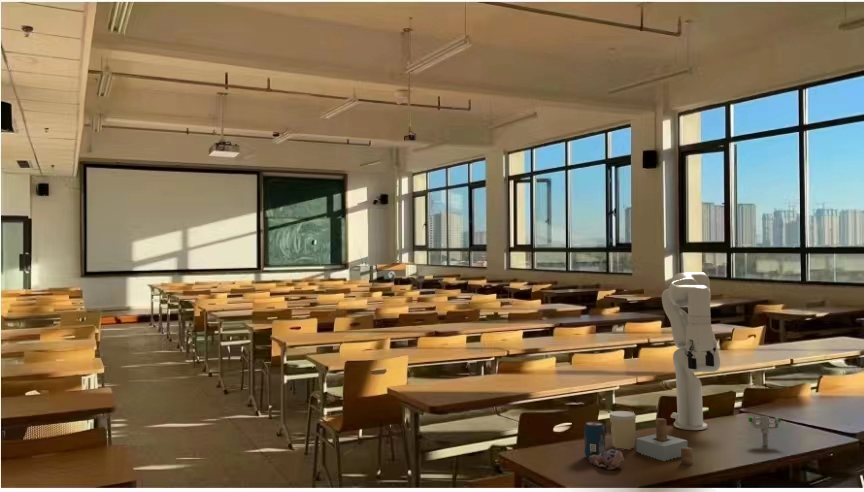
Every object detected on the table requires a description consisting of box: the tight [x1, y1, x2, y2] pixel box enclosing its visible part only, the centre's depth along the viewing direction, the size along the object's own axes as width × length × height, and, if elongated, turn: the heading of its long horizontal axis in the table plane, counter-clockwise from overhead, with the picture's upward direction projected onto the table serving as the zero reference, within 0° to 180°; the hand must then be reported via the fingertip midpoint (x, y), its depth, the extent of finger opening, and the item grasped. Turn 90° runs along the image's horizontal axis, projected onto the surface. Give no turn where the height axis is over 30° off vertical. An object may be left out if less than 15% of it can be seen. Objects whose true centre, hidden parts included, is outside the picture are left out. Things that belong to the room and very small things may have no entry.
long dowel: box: [655, 417, 668, 442], centre depth 229 cm, size 4×4×12 cm
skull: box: [588, 448, 625, 470], centre depth 217 cm, size 12×8×6 cm, turn 40°
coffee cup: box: [609, 410, 637, 450], centre depth 239 cm, size 9×9×12 cm
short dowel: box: [680, 446, 694, 466], centre depth 218 cm, size 4×4×5 cm
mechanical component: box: [748, 415, 781, 447], centre depth 236 cm, size 3×10×10 cm, turn 78°
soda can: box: [583, 420, 606, 459], centre depth 227 cm, size 7×7×12 cm
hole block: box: [635, 433, 689, 462], centre depth 229 cm, size 12×12×5 cm
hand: (701, 367), depth 238 cm, fingers open, 9 cm apart
